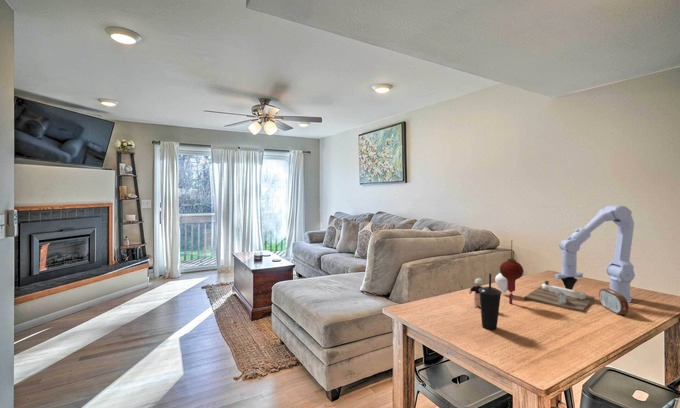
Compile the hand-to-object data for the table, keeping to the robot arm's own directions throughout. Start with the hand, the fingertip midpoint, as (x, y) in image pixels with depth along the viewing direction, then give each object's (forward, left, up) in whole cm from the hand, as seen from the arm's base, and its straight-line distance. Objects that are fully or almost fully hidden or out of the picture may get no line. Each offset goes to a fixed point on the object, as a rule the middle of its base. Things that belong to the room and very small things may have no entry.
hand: (568, 292), depth 150 cm
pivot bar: (+2, -2, -1) cm, 3 cm away
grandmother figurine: (+46, -23, -2) cm, 52 cm away
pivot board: (+8, -2, -2) cm, 8 cm away
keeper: (+14, -1, -1) cm, 14 cm away
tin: (+9, +17, -2) cm, 19 cm away
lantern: (+31, -15, -2) cm, 35 cm away
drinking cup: (+64, -11, -2) cm, 65 cm away
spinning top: (+20, -22, -2) cm, 30 cm away
